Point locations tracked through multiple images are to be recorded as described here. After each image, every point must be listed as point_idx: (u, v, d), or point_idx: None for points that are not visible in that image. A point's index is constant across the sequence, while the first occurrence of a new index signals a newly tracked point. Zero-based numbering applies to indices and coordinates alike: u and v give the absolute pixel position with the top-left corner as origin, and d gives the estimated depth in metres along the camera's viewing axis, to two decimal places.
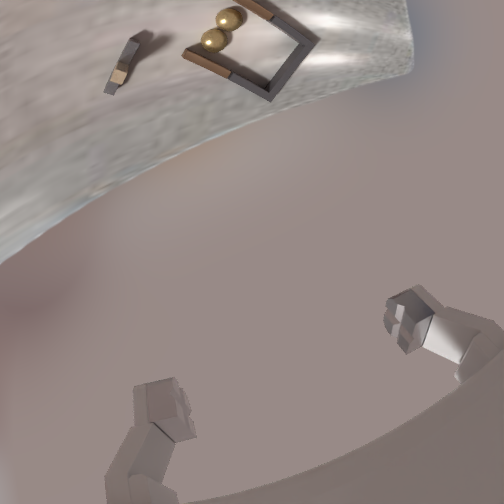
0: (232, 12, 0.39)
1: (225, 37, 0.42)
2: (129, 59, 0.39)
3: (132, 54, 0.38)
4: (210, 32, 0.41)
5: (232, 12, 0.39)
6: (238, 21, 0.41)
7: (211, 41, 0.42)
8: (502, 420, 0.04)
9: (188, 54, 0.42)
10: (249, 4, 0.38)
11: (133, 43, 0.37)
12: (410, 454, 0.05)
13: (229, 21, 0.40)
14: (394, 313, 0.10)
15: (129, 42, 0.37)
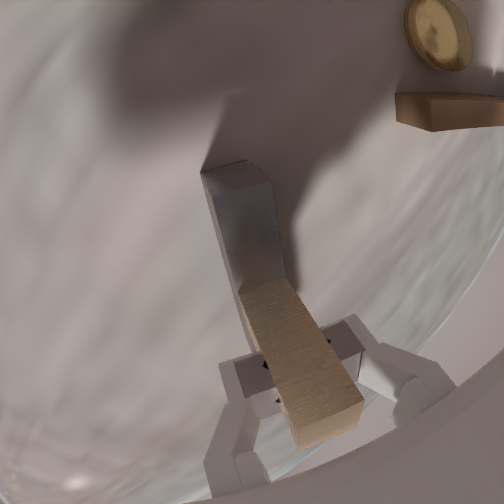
0: None
1: (458, 11, 0.09)
2: (275, 260, 0.11)
3: (272, 237, 0.11)
4: (427, 9, 0.09)
5: None
6: None
7: (445, 38, 0.10)
8: (502, 420, 0.04)
9: (437, 110, 0.11)
10: None
11: (242, 196, 0.10)
12: (410, 454, 0.05)
13: None
14: None
15: (221, 204, 0.10)
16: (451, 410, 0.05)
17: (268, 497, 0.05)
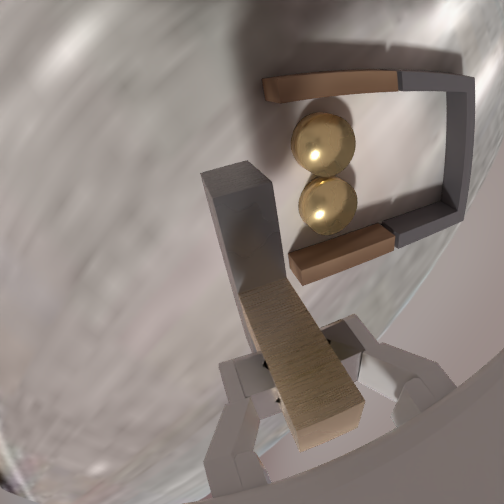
0: (321, 127, 0.18)
1: (346, 186, 0.21)
2: (275, 260, 0.11)
3: (273, 238, 0.11)
4: (312, 201, 0.21)
5: (319, 126, 0.18)
6: (345, 135, 0.19)
7: (327, 215, 0.22)
8: (502, 420, 0.04)
9: (307, 274, 0.23)
10: (342, 84, 0.16)
11: (242, 197, 0.10)
12: (410, 454, 0.05)
13: (330, 150, 0.19)
14: None
15: (222, 205, 0.10)
16: (451, 410, 0.05)
17: (268, 497, 0.05)
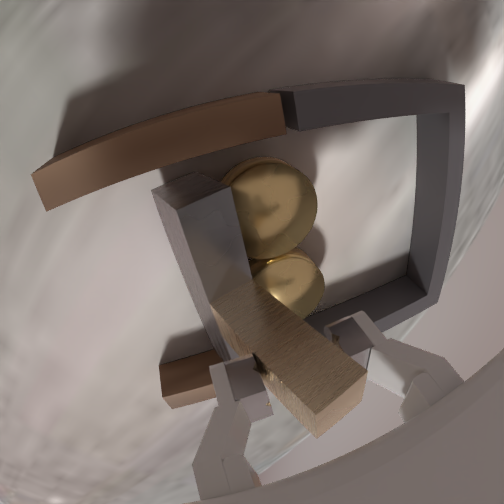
0: (255, 186, 0.12)
1: (304, 266, 0.15)
2: (240, 264, 0.12)
3: (236, 242, 0.11)
4: None
5: (252, 185, 0.12)
6: (299, 194, 0.13)
7: None
8: (502, 420, 0.04)
9: (173, 399, 0.16)
10: (148, 150, 0.09)
11: (204, 205, 0.10)
12: (410, 454, 0.05)
13: (273, 219, 0.13)
14: None
15: (186, 216, 0.10)
16: (451, 410, 0.05)
17: (268, 497, 0.05)
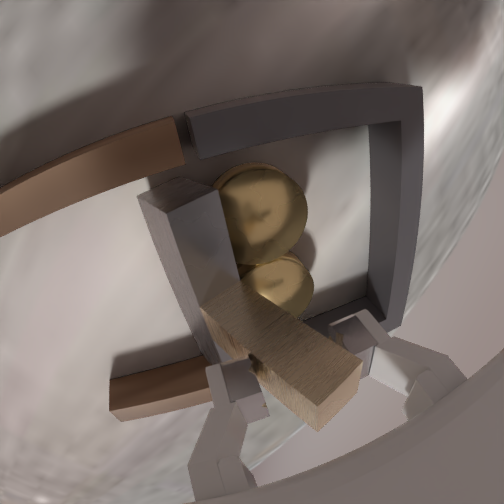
0: (243, 192, 0.12)
1: (290, 267, 0.15)
2: (228, 266, 0.12)
3: (224, 244, 0.11)
4: None
5: (240, 191, 0.12)
6: (289, 199, 0.13)
7: None
8: (502, 420, 0.04)
9: (119, 413, 0.15)
10: (53, 191, 0.09)
11: (193, 208, 0.10)
12: (410, 454, 0.05)
13: (262, 225, 0.13)
14: (334, 340, 0.10)
15: (175, 219, 0.10)
16: (451, 410, 0.05)
17: (268, 497, 0.05)
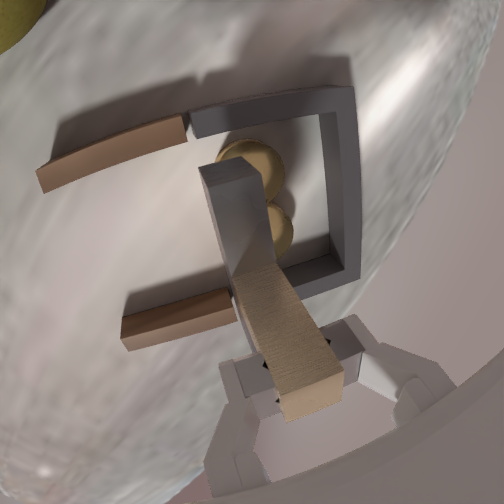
0: None
1: (275, 212, 0.20)
2: (265, 246, 0.12)
3: (263, 225, 0.12)
4: None
5: (238, 155, 0.18)
6: (271, 164, 0.19)
7: None
8: (502, 420, 0.04)
9: (128, 342, 0.21)
10: (102, 156, 0.15)
11: (234, 187, 0.11)
12: (410, 454, 0.05)
13: None
14: None
15: (216, 194, 0.11)
16: (451, 410, 0.05)
17: (268, 497, 0.05)
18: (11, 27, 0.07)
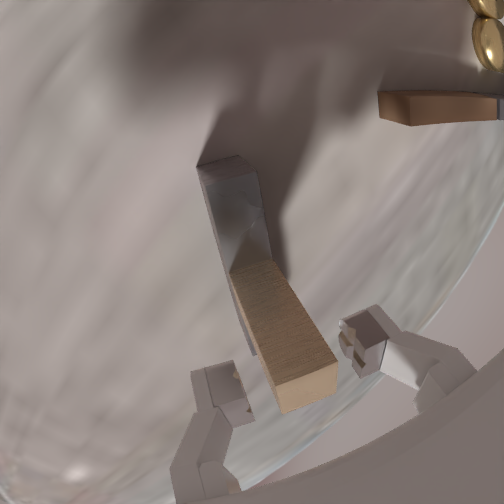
0: None
1: (503, 27, 0.11)
2: (261, 242, 0.13)
3: (259, 222, 0.12)
4: (488, 32, 0.11)
5: None
6: None
7: (498, 51, 0.12)
8: (502, 420, 0.04)
9: (415, 106, 0.12)
10: None
11: (231, 185, 0.11)
12: (410, 454, 0.05)
13: None
14: (346, 335, 0.10)
15: (213, 192, 0.11)
16: (451, 410, 0.05)
17: (268, 497, 0.05)
18: None
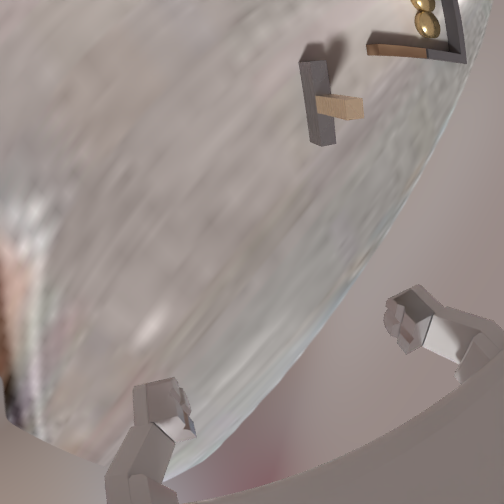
0: None
1: (432, 14, 0.27)
2: (327, 86, 0.29)
3: (326, 78, 0.29)
4: (422, 19, 0.28)
5: None
6: None
7: (429, 27, 0.28)
8: (502, 420, 0.04)
9: (381, 47, 0.28)
10: None
11: (318, 63, 0.27)
12: (410, 454, 0.05)
13: (426, 0, 0.26)
14: (394, 313, 0.10)
15: (312, 64, 0.27)
16: (451, 410, 0.05)
17: (268, 497, 0.05)
18: None
